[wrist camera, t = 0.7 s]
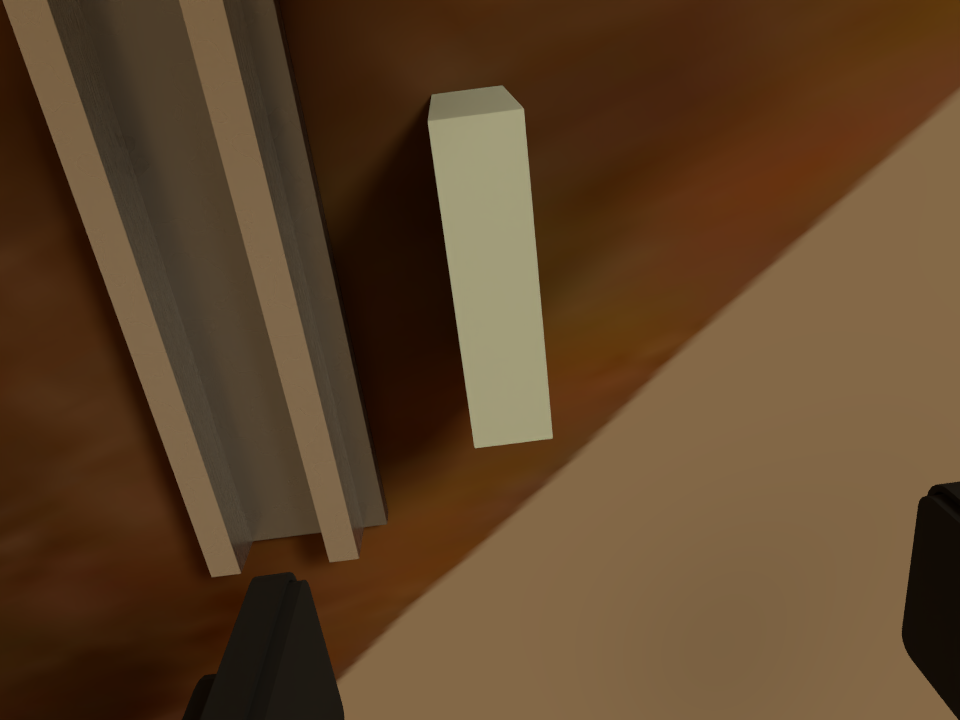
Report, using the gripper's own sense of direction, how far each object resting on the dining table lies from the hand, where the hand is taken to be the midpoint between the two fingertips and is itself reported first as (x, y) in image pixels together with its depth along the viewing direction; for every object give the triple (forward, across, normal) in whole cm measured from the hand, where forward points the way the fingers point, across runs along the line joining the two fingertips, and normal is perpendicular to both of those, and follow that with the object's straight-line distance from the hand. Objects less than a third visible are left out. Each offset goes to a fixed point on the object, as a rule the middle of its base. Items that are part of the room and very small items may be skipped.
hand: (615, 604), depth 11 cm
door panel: (+24, +1, -1) cm, 24 cm away
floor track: (+24, +13, -1) cm, 27 cm away
